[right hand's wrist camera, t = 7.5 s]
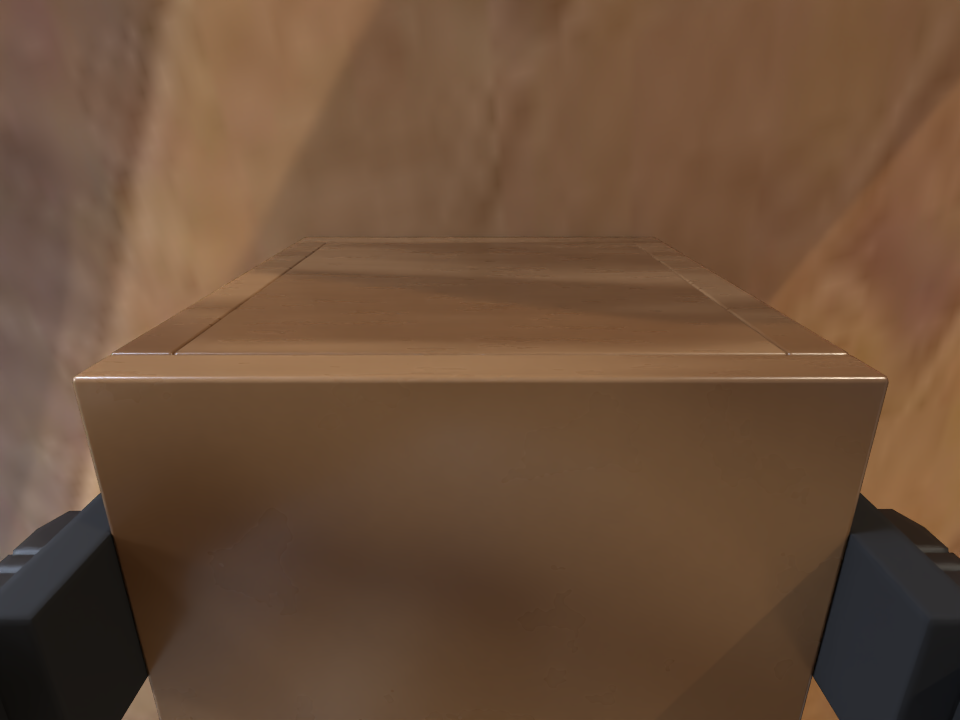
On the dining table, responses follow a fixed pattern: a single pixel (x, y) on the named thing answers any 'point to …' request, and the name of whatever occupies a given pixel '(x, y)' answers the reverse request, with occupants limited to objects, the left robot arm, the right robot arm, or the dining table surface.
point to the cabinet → (480, 486)
